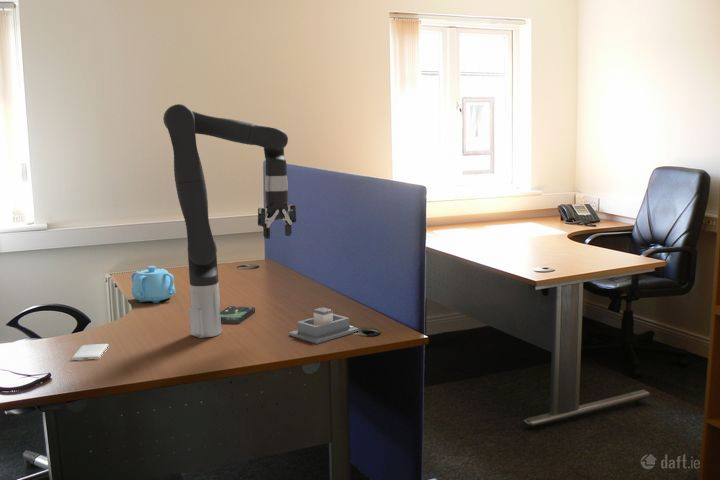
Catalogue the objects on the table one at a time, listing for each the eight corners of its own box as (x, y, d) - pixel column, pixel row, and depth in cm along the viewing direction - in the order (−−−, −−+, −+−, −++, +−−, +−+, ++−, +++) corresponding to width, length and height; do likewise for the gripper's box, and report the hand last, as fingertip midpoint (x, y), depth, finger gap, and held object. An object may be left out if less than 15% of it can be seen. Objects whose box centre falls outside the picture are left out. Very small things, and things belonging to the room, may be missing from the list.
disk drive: (229, 313, 277) (212, 323, 262) (228, 305, 276) (212, 316, 262) (255, 314, 274) (240, 324, 260) (255, 306, 274) (240, 317, 260)
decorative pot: (133, 306, 288) (130, 272, 286) (131, 297, 303) (129, 264, 301) (176, 302, 293) (174, 268, 291) (172, 293, 308) (170, 261, 306)
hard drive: (82, 344, 237) (71, 357, 224) (108, 343, 237) (99, 355, 225) (82, 349, 237) (71, 362, 225) (109, 348, 238) (99, 361, 225)
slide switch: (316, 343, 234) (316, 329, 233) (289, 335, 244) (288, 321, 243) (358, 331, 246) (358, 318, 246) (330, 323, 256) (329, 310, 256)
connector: (324, 333, 242) (323, 312, 241) (314, 330, 246) (313, 309, 244) (333, 330, 245) (332, 309, 243) (323, 327, 248) (322, 307, 247)
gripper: (286, 187, 256) (287, 233, 259) (252, 189, 247) (253, 238, 249) (300, 188, 251) (301, 236, 253) (265, 191, 241) (266, 240, 244)
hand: (277, 237), depth 251 cm, fingers open, 8 cm apart
